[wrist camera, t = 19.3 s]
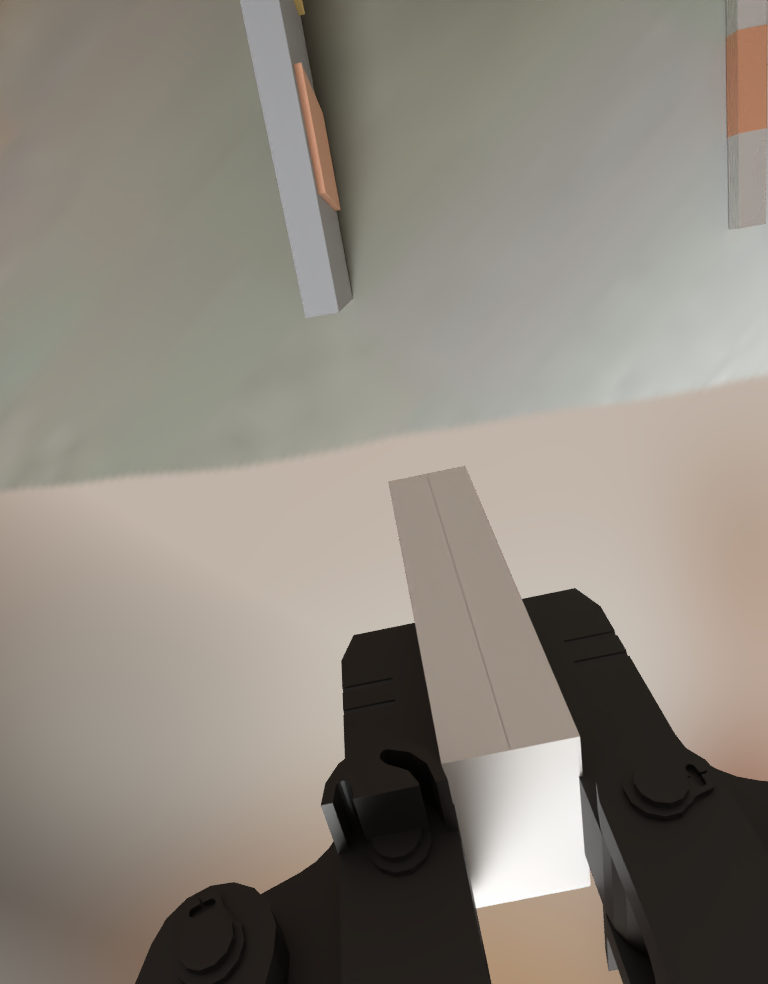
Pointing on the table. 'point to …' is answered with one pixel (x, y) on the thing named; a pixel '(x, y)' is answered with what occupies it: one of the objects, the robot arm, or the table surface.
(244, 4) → the panel board
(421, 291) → the table surface
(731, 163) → the front rail
